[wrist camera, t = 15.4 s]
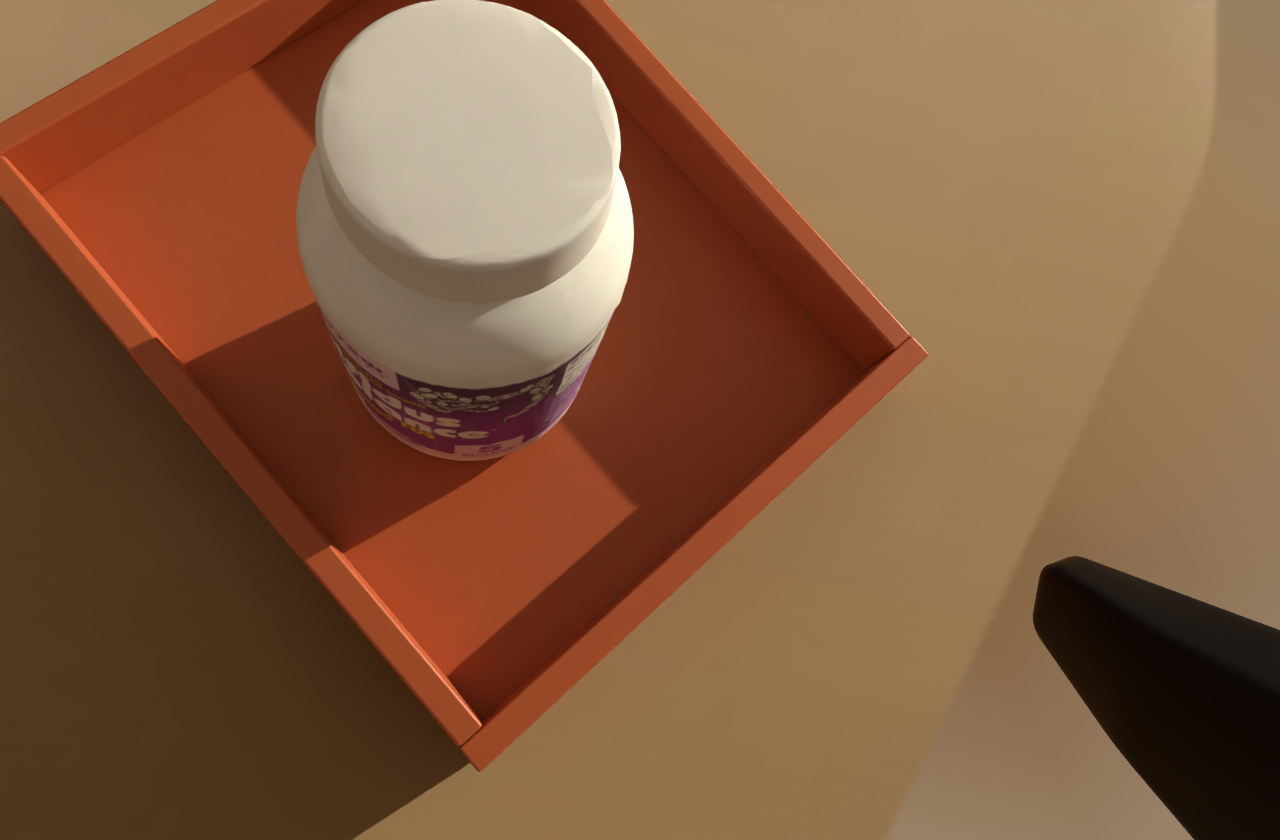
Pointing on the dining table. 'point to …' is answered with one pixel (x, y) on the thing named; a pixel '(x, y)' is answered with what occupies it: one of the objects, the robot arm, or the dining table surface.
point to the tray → (365, 451)
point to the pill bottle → (465, 223)
